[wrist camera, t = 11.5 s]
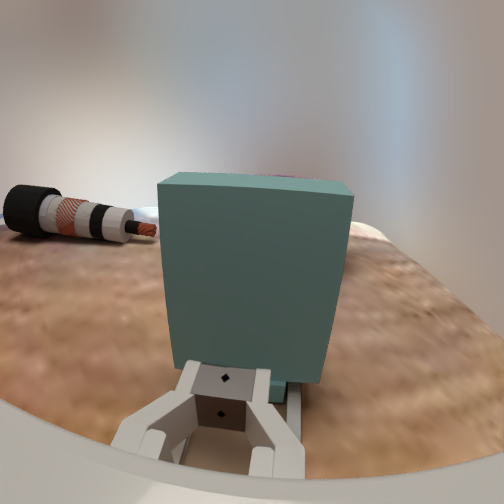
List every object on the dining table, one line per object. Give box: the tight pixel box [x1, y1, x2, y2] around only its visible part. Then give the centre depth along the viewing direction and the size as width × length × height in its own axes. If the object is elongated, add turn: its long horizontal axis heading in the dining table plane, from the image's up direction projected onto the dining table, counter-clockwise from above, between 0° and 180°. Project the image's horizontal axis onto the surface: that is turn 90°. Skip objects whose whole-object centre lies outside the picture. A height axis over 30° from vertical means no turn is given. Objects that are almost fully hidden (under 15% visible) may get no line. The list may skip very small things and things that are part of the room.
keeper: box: [157, 172, 354, 403], centre depth 22 cm, size 5×11×16 cm, turn 84°
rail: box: [171, 382, 302, 475], centre depth 17 cm, size 26×9×8 cm, turn 174°
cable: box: [3, 185, 157, 243], centre depth 54 cm, size 10×34×10 cm, turn 84°
